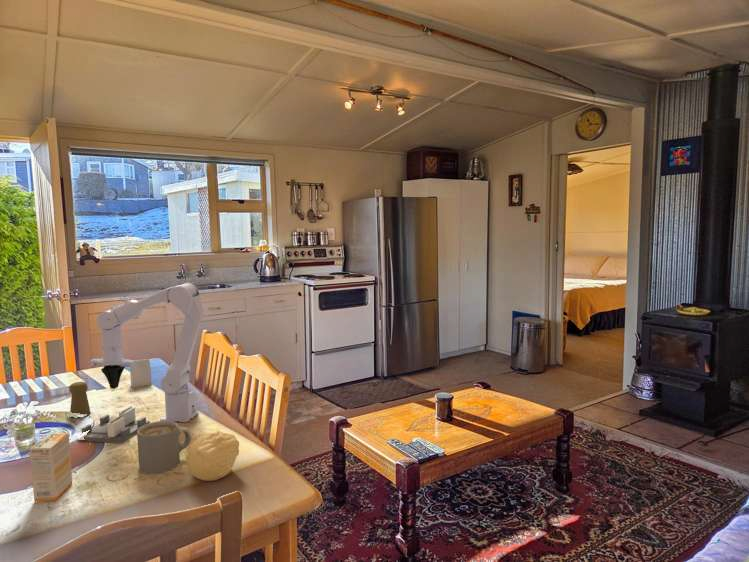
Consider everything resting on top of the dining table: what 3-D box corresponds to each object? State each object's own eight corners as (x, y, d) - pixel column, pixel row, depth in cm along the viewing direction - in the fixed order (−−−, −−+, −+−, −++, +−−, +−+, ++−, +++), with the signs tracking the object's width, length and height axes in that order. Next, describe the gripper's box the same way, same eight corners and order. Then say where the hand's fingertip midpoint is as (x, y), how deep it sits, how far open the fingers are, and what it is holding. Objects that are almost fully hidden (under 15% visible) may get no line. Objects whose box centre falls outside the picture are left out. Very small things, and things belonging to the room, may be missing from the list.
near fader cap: (125, 430, 151) (124, 416, 151) (114, 437, 146) (113, 422, 146) (119, 429, 152) (118, 415, 151) (108, 436, 147) (107, 422, 146)
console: (149, 424, 159) (149, 415, 159) (121, 443, 146) (120, 433, 145) (109, 421, 161) (108, 412, 161) (77, 440, 148) (77, 430, 147)
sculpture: (210, 491, 120) (209, 447, 119) (178, 477, 126) (176, 436, 125) (246, 471, 129) (245, 431, 128) (214, 459, 136) (213, 421, 135)
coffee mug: (142, 477, 126) (140, 439, 125) (136, 461, 135) (134, 425, 133) (197, 463, 133) (195, 427, 132) (188, 449, 142) (187, 415, 141)
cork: (81, 418, 164) (79, 386, 163) (65, 417, 165) (63, 384, 164) (95, 412, 170) (93, 380, 168) (79, 410, 171) (77, 379, 170)
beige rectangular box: (151, 384, 199) (150, 359, 198) (133, 387, 195) (131, 362, 194) (149, 382, 202) (147, 357, 201) (130, 385, 198) (129, 360, 197)
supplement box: (52, 484, 123) (48, 432, 121) (73, 483, 123) (69, 432, 122) (32, 503, 115) (28, 447, 113) (54, 502, 115) (50, 447, 114)
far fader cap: (135, 419, 159) (134, 406, 159) (125, 425, 154) (124, 412, 154) (129, 419, 160) (128, 405, 159) (119, 425, 155) (118, 411, 154)
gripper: (82, 349, 160) (85, 390, 161) (124, 350, 158) (127, 392, 159) (98, 343, 167) (100, 383, 168) (138, 345, 165) (140, 385, 166)
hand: (114, 387), depth 164 cm, fingers closed
